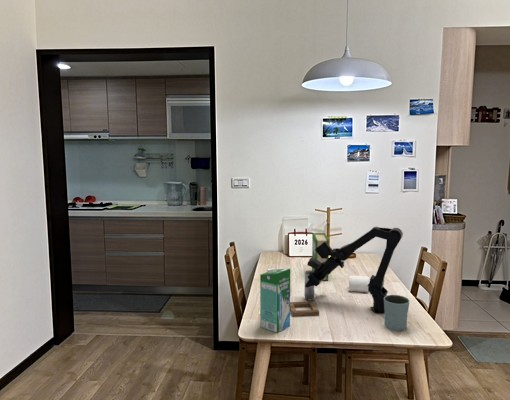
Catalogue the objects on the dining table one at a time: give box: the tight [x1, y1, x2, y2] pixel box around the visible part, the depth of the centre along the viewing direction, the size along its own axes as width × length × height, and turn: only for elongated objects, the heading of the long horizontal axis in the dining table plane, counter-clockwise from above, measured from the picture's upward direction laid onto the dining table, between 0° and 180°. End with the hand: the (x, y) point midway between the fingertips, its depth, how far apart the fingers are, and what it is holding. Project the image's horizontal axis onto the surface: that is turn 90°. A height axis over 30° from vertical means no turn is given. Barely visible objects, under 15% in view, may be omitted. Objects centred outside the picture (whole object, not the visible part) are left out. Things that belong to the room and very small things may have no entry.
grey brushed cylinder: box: [304, 270, 315, 301], centre depth 198 cm, size 5×5×14 cm
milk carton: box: [259, 267, 291, 334], centre depth 166 cm, size 9×9×25 cm
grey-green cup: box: [384, 294, 410, 332], centre depth 167 cm, size 10×10×12 cm
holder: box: [290, 300, 320, 318], centre depth 184 cm, size 12×12×2 cm
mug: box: [348, 275, 370, 293], centre depth 211 cm, size 12×10×8 cm
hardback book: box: [311, 232, 330, 282], centre depth 233 cm, size 18×7×24 cm, turn 177°
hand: (306, 285), depth 198 cm, fingers closed on grey brushed cylinder, 5 cm apart
